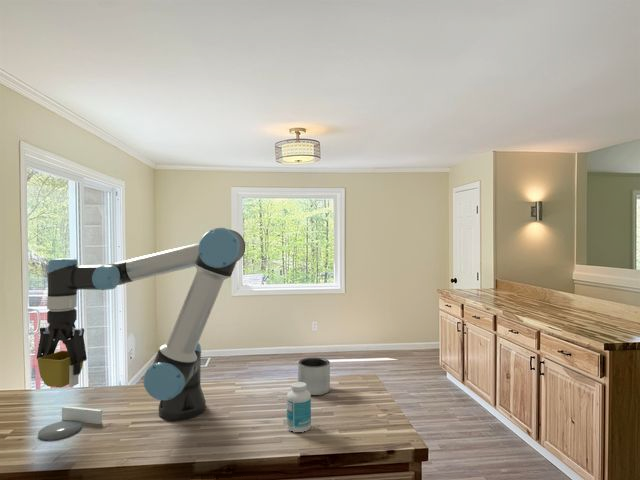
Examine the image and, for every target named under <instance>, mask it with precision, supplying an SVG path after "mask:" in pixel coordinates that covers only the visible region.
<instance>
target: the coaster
mask: <svg viewBox="0 0 640 480" xmlns="http://www.w3.org/2000/svg"><path fill="white" fill-rule="evenodd" d="M82 427H83V422H80V421H76V420H61V421H57V422H54V423H50V424H48V425H46V426H44V427H42V428H41V429H40V430H39V431H38V433H37V437H38V439H39V440H43V441H56V440H61V439H65V438H68V437H70V436H73V435H75V434H77V433H78V432H80V431H81V430H82Z"/></svg>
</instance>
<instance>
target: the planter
mask: <svg viewBox="0 0 640 480" xmlns="http://www.w3.org/2000/svg"><path fill="white" fill-rule="evenodd" d="M330 367H331V363H330V361H329V360H328V359H326V358H324V357H323V358H322V357H305V358H301V359H300V360H299V361H298V362H297V382H304V383H306V390H307V391H309V392H310V394H311V395H314V396H313V397H316V396H315V395H319V396H323V395H325V393H326V394H327V393H329V392H330V389H331V368H330Z"/></svg>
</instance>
